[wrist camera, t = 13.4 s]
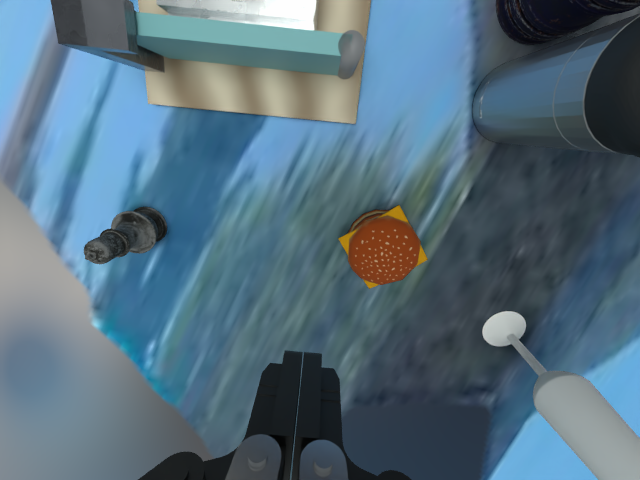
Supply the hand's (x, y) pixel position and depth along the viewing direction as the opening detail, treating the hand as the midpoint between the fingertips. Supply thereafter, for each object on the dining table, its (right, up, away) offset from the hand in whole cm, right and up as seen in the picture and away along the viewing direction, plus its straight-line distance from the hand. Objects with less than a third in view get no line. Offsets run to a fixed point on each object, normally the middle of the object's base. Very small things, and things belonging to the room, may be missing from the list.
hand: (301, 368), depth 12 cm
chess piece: (-24, +7, +31) cm, 40 cm away
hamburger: (+9, +5, +31) cm, 33 cm away
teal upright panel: (-6, +26, +22) cm, 34 cm away
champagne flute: (+30, -9, +36) cm, 48 cm away
